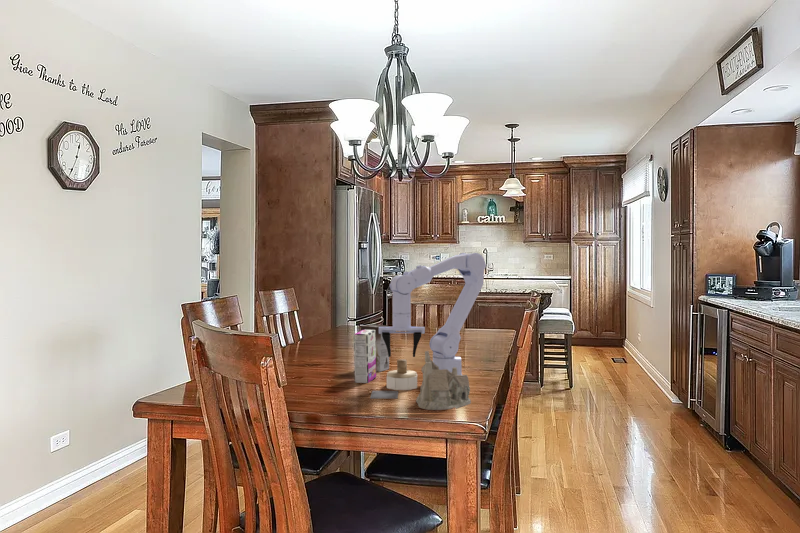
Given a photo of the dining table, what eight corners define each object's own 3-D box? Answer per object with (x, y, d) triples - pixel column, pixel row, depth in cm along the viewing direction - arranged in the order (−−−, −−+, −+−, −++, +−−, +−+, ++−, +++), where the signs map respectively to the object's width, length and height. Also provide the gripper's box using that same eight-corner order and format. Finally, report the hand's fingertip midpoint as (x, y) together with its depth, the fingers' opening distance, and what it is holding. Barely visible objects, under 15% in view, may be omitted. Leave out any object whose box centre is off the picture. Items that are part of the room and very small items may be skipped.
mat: (398, 392, 183) (398, 390, 183) (397, 399, 173) (397, 398, 173) (372, 391, 184) (372, 390, 184) (369, 399, 174) (369, 398, 174)
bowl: (417, 384, 194) (417, 372, 194) (417, 391, 184) (417, 378, 184) (387, 384, 194) (387, 372, 194) (386, 391, 185) (386, 378, 185)
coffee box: (359, 369, 220) (359, 325, 220) (369, 366, 226) (369, 324, 225) (380, 371, 215) (380, 327, 215) (390, 369, 221) (390, 325, 220)
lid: (417, 372, 193) (417, 357, 193) (415, 378, 184) (415, 362, 184) (389, 372, 194) (389, 357, 194) (385, 377, 185) (385, 362, 185)
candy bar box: (362, 376, 207) (362, 329, 206) (376, 377, 206) (376, 329, 205) (353, 383, 196) (353, 333, 195) (368, 384, 195) (368, 333, 194)
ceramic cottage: (415, 410, 161) (419, 354, 161) (416, 398, 177) (419, 347, 177) (474, 415, 160) (477, 358, 160) (468, 402, 176) (472, 351, 177)
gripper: (378, 314, 185) (378, 358, 185) (424, 314, 185) (425, 358, 185) (379, 312, 192) (379, 354, 192) (424, 312, 192) (424, 354, 192)
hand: (401, 356), depth 189 cm, fingers open, 7 cm apart
